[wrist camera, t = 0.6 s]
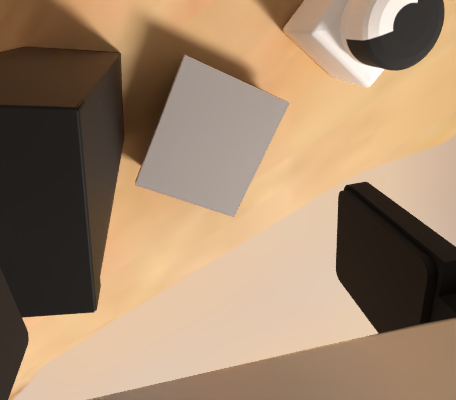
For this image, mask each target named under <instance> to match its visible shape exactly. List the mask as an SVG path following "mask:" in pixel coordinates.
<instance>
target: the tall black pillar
mask: <svg viewBox="0 0 456 400" xmlns="http://www.w3.org/2000/svg"><path fill="white" fill-rule="evenodd" d="M123 142H124V125H123V100H122V74H121V53H120V52H104V51H88V50H71V49H55V48H38V47H21V48H16V49H12V50H7V51H2V52H0V268H1V270H2V273H3V275H4V277H5V280H6V282H7V284H8V287H9V289H10V291H11V294H12V296H13V298H14V301H15V303H16V305H17V308H18V310H19V312H20V315H21V317H35V316H49V315H63V314H77V313H91V312H94V311H96V310H97V305H98V299H99V293H100V286H101V285H100V274H101V268H102V262H103V257H104V251H105V245H106V239H107V234H108V228H109V222H110V216H111V211H112V205H113V199H114V194H115V188H116V182H117V176H118V171H119V165H120V159H121V153H122V148H123Z"/></svg>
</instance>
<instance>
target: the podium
mask: <svg viewBox="0 0 456 400" xmlns="http://www.w3.org/2000/svg"><path fill="white" fill-rule="evenodd" d="M288 105H289V103H288V102H287V101H285V100H283V99H280V98H278V97H276V96H274V95H272V94H270V93H267V92H265V91H263V90H261V89H259V88H256V87H254V86H252V85H250V84H248V83H246V82H243V81H241V80H239V79H237V78H235V77H233V76H230V75H228V74H226V73H224V72H222V71H220V70H217V69H215V68H213V67H211V66H209V65H207V64H204V63H202V62H200V61H198V60H196V59H194V58H191V57H189V56H187V55H185V54H184V55H183V58H182V60H181V63H180V65H179V68H178V71H177V73H176V76H175V79H174V81H173V84H172V86H171V89H170V92H169V94H168V97H167V100H166V102H165V105H164V107H163V110H162V113H161V115H160V118H159V120H158V123H157V126H156V128H155V131H154V134H153V136H152V139H151V141H150V144H149V147H148V149H147V152H146V155H145V157H144V160H143V162H142V165H141V168H140V170H139V173H138V176H137V178H136V181H135V185H137V186H140V187H143V188H146V189H149V190H152V191H155V192H158V193H161V194H164V195H168V196H171V197H174V198H177V199H180V200H183V201H186V202H189V203H192V204H195V205H198V206H201V207H204V208H208V209H211V210H214V211H217V212H220V213H223V214H226V215H229V216H232V217H234V216H235V214H236V212H237V210H238V208H239V206H240V203H241V201H242V199H243V197H244V195H245V193H246V191H247V189H248V187H249V185H250V183H251V181H252V179H253V177H254V175H255V173H256V171H257V169H258V167H259V165H260V162H261V160H262V158H263V156H264V154H265V152H266V150H267V148H268V146H269V144H270V142H271V140H272V138H273V136H274V134H275V132H276V130H277V128H278V126H279V123H280V121H281V119H282V117H283V115H284V113H285V111H286V109H287V107H288Z"/></svg>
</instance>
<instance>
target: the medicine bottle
mask: <svg viewBox="0 0 456 400" xmlns="http://www.w3.org/2000/svg"><path fill="white" fill-rule="evenodd" d="M443 21H444V2H443V0H304V1H303V2H302V4H301V5H300V6H299V8H298V9H297V10H296V12H295V13H294V14H293V16H292V17H291V19H290V20H289V21H288V23H287V24H286V25H285V27H284V29H283V32H284V33H285V34H286V35H287V36H288V37H289V38H290V39H291V40H292V41H293V42H294V43H296V44H297V45H298V46H299V47H300V48H301V49H302V50H303V51H304V52H305V53H306V54H307V55H308V56H309V57H311V58H312V59H313V60H314V61H315V62H316V63H317V64H318V65H319V66H320V67H321V68H322V69H323V70H324V71H326V72H327V73H328V74H329V75H330V76H331V77H333V78H336V79H339V80H343V81H346V82H349V83H353V84H356V85H360V86H363V87H369V86H371V85H372V83H373V82H374V81H375V80H376V79H377V77H378V76H379V75H380V74H381V73H382V71H383V70H384V69H387V70H403V69H406V68H409V67H411V66H413V65H415V64H416V63H418V62H419V61H421V60H422V59H423V58H424V57H425V56H426V55H427V54H428V53H429V52H430V51H431V49H432V48H433V46H434V45H435V43H436V41H437V39H438V37H439V35H440V32H441V30H442V26H443Z"/></svg>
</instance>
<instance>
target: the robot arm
mask: <svg viewBox="0 0 456 400" xmlns="http://www.w3.org/2000/svg"><path fill="white" fill-rule="evenodd" d="M338 198H339V199H338V226H337V227H338V228H337V253H336V272H337V276H338V279H339V280H340V282H341V283H342V285H343V286H344V287H345V289H346V290H347V291H348V292H349V294H350V295H351V297H352V298H353V299H354V301H355V302H356V304H357V305H358V306H359V307H360V309H361V310H362V312H363V313H364V314H365V316H366V317H367V318H368V320H369V321H370V322H371V324H372V325H373V326H374V328H375V329H376V330H377V332H378V333H379V334H375V335H370V336H366V337H362V338H357V339H352V340H348V341H343V342H339V343H335V344H330V345H325V346H321V347H317V348H312V349H308V350H303V351H299V352H295V353H290V354H286V355H281V356H277V357H273V358H268V359H264V360H259V361H255V362H251V363H246V364H242V365H238V366H233V367H229V368H225V369H220V370H216V371H211V372H207V373H203V374H198V375H194V376H189V377H186V378H181V379H176V380H172V381H168V382H163V383H159V384H155V385H150V386H146V387H142V388H137V389H132V390H128V391H124V392H120V393H115V394H111V395H106V396H102V397H97V398H93V399H89V400H456V247H455V246H454V245H452V244H451V243H449V242H448V241H447V240H446V239H444V238H443V237H441V236H440V235H438V234H437V233H436V232H434V231H433V230H432V229H431V228H429V227H428V226H426V225H425V224H424V223H422V222H421V221H420V220H418V219H417V218H416V217H414V216H413V215H411V214H410V213H409V212H407V211H406V210H405V209H403V208H402V207H401V206H399V205H398V204H396V203H395V202H394V201H392V200H391V199H390V198H388V197H387V196H386V195H384V194H383V193H382V192H380V191H379V190H377V189H376V188H375V187H373V186H372V185H371V184H369V183H367V182H362V183H356V184H350V185H346V186H345V188H344V191H340V193H339V197H338ZM27 345H28V331H27V329H26V326H25V324H24V322H23V319H22V317H21V315H20V312H19V310H18V308H17V305H16V303H15V301H14V298H13V296H12V294H11V291H10V289H9V287H8V284H7V282H6V280H5V277H4V275H3V273H2V270H1V268H0V400H8V398H9V396H10V393H11V390H12V387H13V384H14V382H15V379H16V376H17V373H18V370H19V368H20V365H21V362H22V359H23V357H24V354H25V351H26V348H27Z"/></svg>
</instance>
